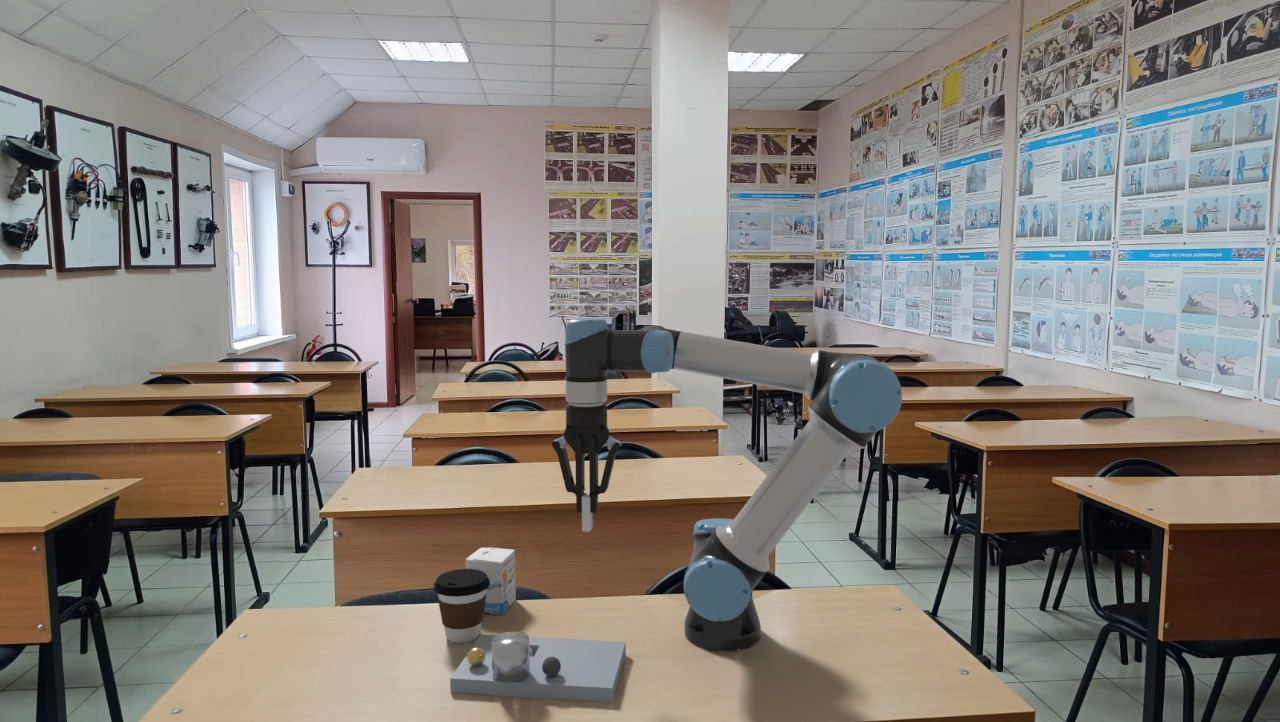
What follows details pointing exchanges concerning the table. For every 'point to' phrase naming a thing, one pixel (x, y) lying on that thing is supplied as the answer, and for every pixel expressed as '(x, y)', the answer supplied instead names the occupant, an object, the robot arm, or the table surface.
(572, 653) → the plate
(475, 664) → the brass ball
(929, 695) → the table surface
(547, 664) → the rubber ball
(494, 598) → the ink box
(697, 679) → the table surface
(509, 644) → the shiny silver cylinder
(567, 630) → the table surface
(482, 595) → the coffee cup
